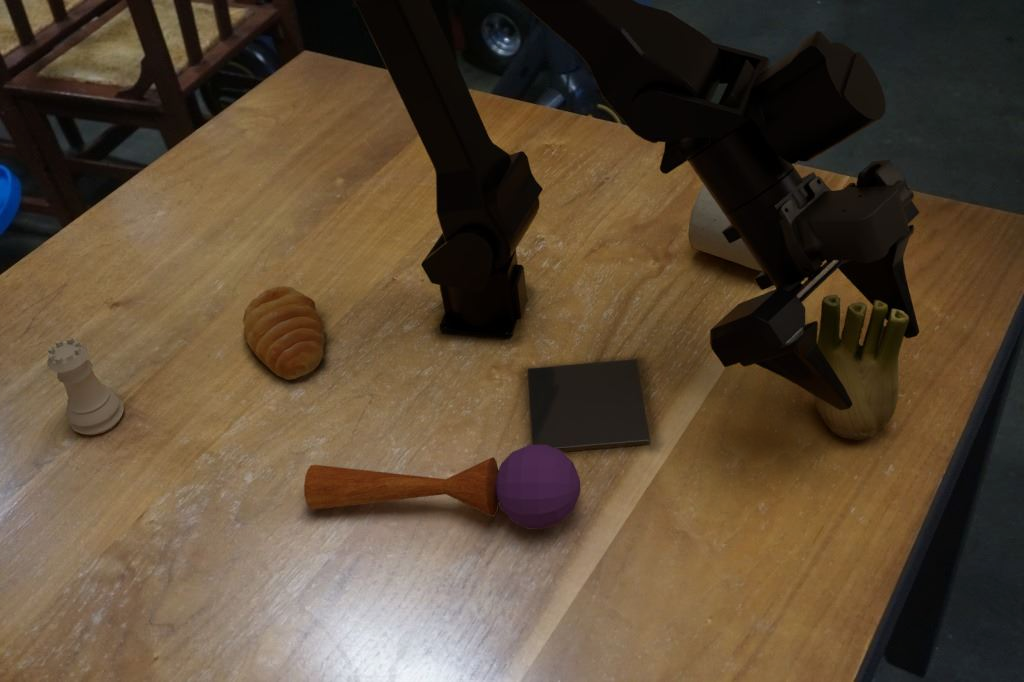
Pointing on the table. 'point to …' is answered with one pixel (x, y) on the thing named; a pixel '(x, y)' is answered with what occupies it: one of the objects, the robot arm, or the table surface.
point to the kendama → (464, 486)
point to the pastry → (285, 331)
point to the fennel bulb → (861, 365)
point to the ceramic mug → (715, 232)
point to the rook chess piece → (84, 389)
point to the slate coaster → (588, 406)
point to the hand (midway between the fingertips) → (881, 371)
